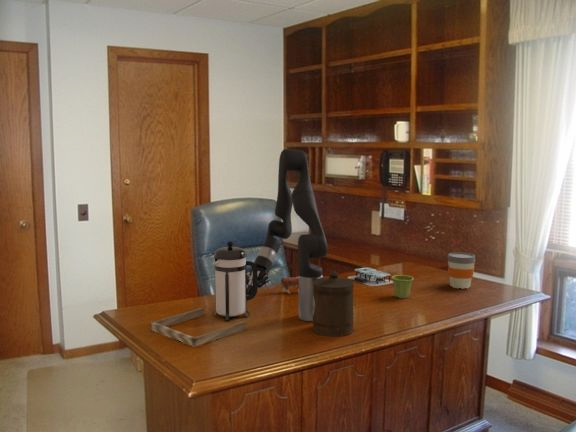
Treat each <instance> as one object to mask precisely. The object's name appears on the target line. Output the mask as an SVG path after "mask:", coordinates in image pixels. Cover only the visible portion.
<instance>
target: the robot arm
mask: <svg viewBox="0 0 576 432" xmlns="http://www.w3.org/2000/svg"><path fill="white" fill-rule="evenodd" d="M288 172H295V173H296V172H297V173H298V181H297V183H296V185H295V186H294V188H293V190H292V191H291V188H290V186H289V183H288V179H287V178H288ZM277 178H278V181H277V196H276V203H275V208H274V209H275V210H274V215H275V216H276V217H278V218H280V219H281V221H280V220H278V219H273V220H271V221H270V222H269V223H268V226H267V234H266V237H265V241H264V242H263V245H262V247H261V248H260V250H259V251H258V253H257V255H256V257H255V260H254V261H253V263H255V265H256V267H257V274H258V289H261V288H262V287H264V286H265V285H266V284H267V283H269V282H270V281H271V278H270V277H269V276H268V275H269V273H270V271H271V269H272V267H273V264H274V263H275V260H276V257H277V254H278V252H279V250H280V248H281V245H282V243H281V241H280V240H278V239H277V238H280V239H283V240H287V239H290V237H291V235H292V232H293V228H292V215H291V214H292V209H293V210H294V212H295V214H296V215H297V216H298V217H299V218H300V220H302V221H303V222H304V223H305V224H306V225H307V227H309V228H310V231H311V233H310V234H309V233H308V234H306V233H305V234H300V236H299V237H298V238H297V239H298V240H297V254H298V255H297V256H298V277H299V293H298V319H299V320H301V321H305V322H313V293H314V281H315V280H317V279H320V278H324V275H323V273H324V271H323V268H322V267H321V266H320V265H316V264H312V263H311V262H310V260H309V259H317V258H318V259H319V258H325V257H326V256H327V254H328V250H329V249H328V248H329V247H328V243H327V241H328V240H327V237H326V235H325V231H324V228H323V225H322V223H321V220H320V219H321V218H320V215H319V212H318V206H317V203H316V202H317V201H316V197H315V194H314V193H315V192H314V190H313V186H312V181H311V177H310V169H309V161H308V156H307V154H306V152H305V151H304V150H301V149H291V148H289V149H288V148H284V149H282V151H281V152H280V155H279V160H278V177H277ZM246 280H247V296H249V295H250V294H251V293H252V291H253V270H252V268H250V270H249V271H248V272H246Z"/></svg>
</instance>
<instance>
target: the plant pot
mask: <svg viewBox="0 0 576 432" xmlns="http://www.w3.org/2000/svg"><path fill="white" fill-rule="evenodd" d="M391 279H392V281H393V290H394V297H395V298H399V299H407V298H409V297H410V292H411V288H412V284H413V281H414V277H413V276H410V275H404V274H397V275H392V276H391Z"/></svg>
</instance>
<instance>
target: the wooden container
mask: <svg viewBox="0 0 576 432" xmlns="http://www.w3.org/2000/svg"><path fill="white" fill-rule="evenodd" d="M328 276H329V277H327V276H326V277H323V278H320V279H317V280H315V281H314V293H313V321H312V330H313V332H315V334H318V335H321V336H324V337H345V336H348V335H350V334H352V333H353V332H354V318H355V317H354V316H355V315H354V314H355V313H354V310H355V309H354V282H353V280H348V278H344V277H339V273H338V272H337V271H335V270H332V271H331V272H329V273H328Z"/></svg>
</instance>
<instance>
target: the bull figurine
mask: <svg viewBox="0 0 576 432" xmlns="http://www.w3.org/2000/svg"><path fill="white" fill-rule="evenodd" d="M280 282H281V285H282V286H281V287H282V289H283V290H282V291H283V292H284V293H286V292H287V294H289V295H290V294H291V291H290V290H289V287H290V288H291V289H293V288H296V287H297V293H298V294H299V276H296V277H295V276H294V277H291V276H290V277H286V276H285V277H282V278H281V279H280Z"/></svg>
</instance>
